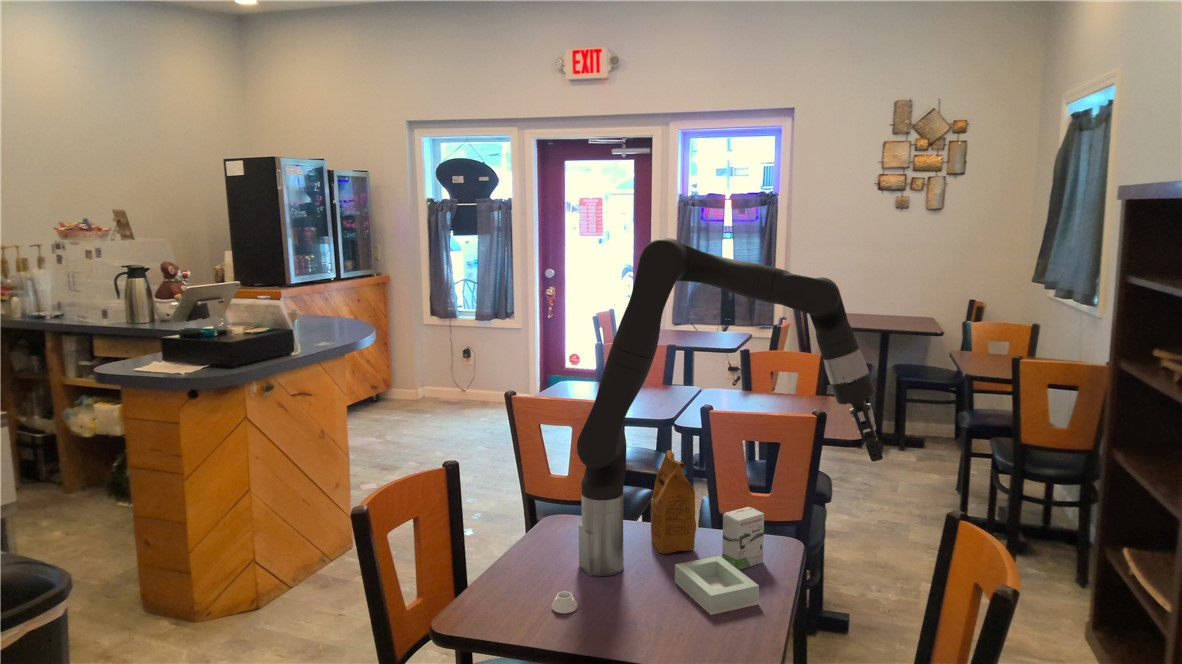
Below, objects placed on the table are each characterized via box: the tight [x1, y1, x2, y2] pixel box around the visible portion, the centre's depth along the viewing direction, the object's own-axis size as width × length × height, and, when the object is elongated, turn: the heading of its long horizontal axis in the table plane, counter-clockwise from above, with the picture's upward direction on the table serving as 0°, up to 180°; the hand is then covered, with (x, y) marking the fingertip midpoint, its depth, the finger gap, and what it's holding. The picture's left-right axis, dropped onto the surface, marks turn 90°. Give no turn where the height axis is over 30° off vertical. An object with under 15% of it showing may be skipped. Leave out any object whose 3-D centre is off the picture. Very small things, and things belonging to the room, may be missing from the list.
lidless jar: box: [551, 591, 578, 614], centre depth 151 cm, size 5×3×5 cm
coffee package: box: [650, 449, 697, 555], centre depth 180 cm, size 10×12×22 cm
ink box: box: [721, 506, 765, 571], centre depth 170 cm, size 9×5×12 cm, turn 123°
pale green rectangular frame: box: [674, 555, 760, 616], centre depth 157 cm, size 11×15×4 cm
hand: (876, 453), depth 148 cm, fingers open, 8 cm apart
